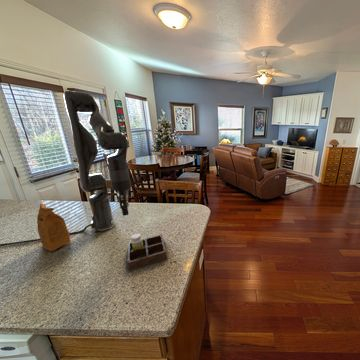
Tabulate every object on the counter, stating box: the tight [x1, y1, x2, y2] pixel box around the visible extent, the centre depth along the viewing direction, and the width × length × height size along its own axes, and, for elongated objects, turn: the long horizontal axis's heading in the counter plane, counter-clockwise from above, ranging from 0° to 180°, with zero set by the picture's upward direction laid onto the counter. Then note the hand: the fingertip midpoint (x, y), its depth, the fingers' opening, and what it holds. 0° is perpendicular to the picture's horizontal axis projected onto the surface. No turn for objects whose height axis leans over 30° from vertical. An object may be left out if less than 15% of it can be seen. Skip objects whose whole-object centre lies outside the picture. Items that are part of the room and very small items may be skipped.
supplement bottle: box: [130, 233, 144, 250], centre depth 91 cm, size 5×5×8 cm
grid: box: [127, 234, 168, 271], centre depth 90 cm, size 16×16×4 cm
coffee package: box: [36, 203, 72, 252], centre depth 94 cm, size 10×12×22 cm
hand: (126, 210), depth 88 cm, fingers open, 8 cm apart
